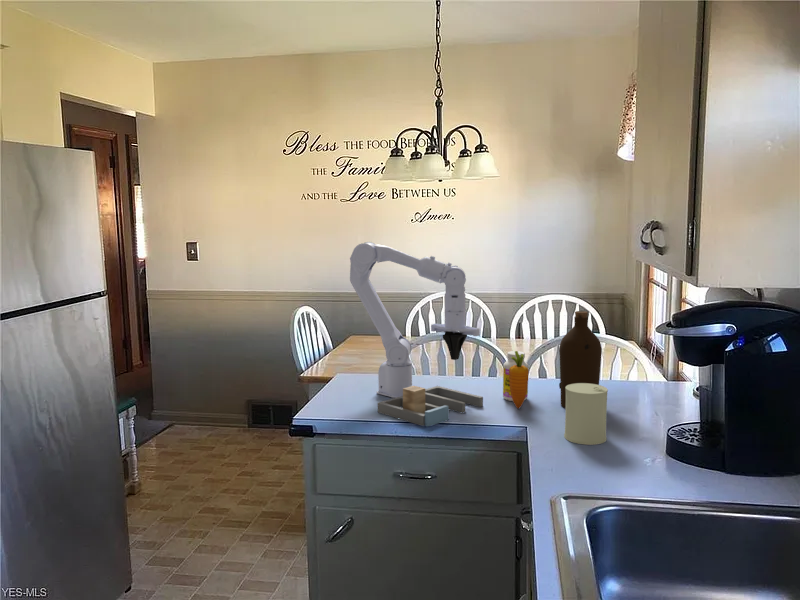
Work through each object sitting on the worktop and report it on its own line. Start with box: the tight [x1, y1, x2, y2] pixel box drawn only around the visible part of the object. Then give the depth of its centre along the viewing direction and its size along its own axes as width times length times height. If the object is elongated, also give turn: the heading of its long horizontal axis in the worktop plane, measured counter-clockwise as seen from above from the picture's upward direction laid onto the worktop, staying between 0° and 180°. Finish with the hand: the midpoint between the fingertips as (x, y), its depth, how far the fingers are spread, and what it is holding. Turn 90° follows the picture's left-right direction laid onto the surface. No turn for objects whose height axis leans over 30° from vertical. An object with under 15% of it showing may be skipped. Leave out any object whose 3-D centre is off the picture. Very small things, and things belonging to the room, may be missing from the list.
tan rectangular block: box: [403, 385, 426, 414], centre depth 166 cm, size 4×4×7 cm
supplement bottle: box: [502, 350, 529, 402], centre depth 179 cm, size 7×7×13 cm
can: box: [563, 383, 609, 446], centre depth 147 cm, size 9×9×12 cm
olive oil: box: [558, 310, 603, 409], centre depth 171 cm, size 11×11×25 cm
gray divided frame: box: [377, 385, 484, 427], centre depth 171 cm, size 17×23×4 cm
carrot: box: [509, 350, 530, 410], centre depth 170 cm, size 5×5×15 cm
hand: (454, 359), depth 182 cm, fingers closed
